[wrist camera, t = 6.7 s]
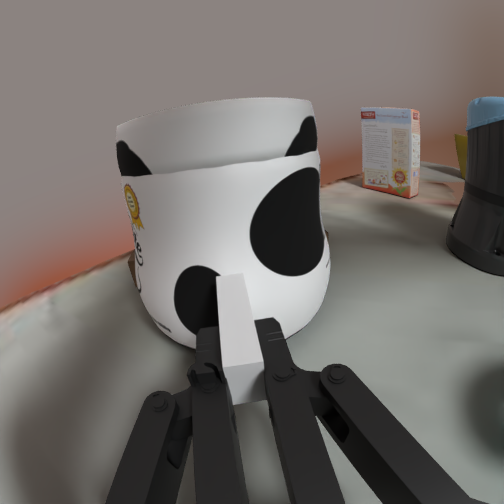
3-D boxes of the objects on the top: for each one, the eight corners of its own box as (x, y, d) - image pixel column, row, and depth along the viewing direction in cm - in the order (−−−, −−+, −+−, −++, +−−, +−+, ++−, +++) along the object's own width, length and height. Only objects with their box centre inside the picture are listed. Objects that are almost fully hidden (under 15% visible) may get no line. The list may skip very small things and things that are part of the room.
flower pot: (507, 189, 66) (510, 147, 58) (490, 190, 62) (494, 142, 55) (473, 176, 82) (475, 138, 75) (451, 176, 79) (453, 133, 71)
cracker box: (418, 195, 57) (420, 111, 47) (409, 199, 54) (411, 108, 45) (373, 184, 67) (372, 108, 58) (361, 187, 65) (359, 106, 55)
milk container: (132, 301, 29) (89, 139, 21) (251, 249, 38) (238, 114, 30) (212, 411, 16) (132, 104, 8) (361, 301, 25) (372, 105, 17)
